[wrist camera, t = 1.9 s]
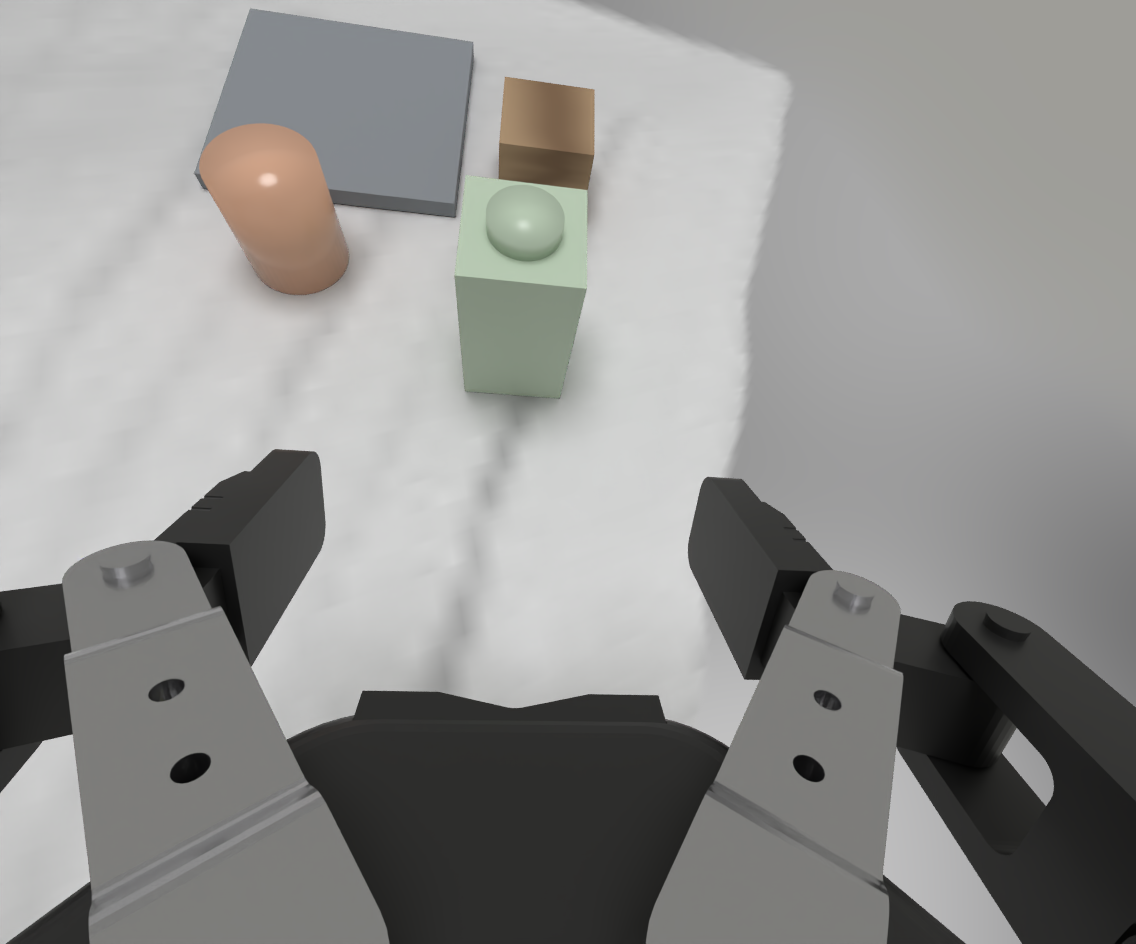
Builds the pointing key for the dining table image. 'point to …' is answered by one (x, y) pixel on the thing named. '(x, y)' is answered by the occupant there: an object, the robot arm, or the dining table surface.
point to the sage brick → (519, 284)
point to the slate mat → (357, 105)
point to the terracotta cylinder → (277, 206)
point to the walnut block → (546, 134)
